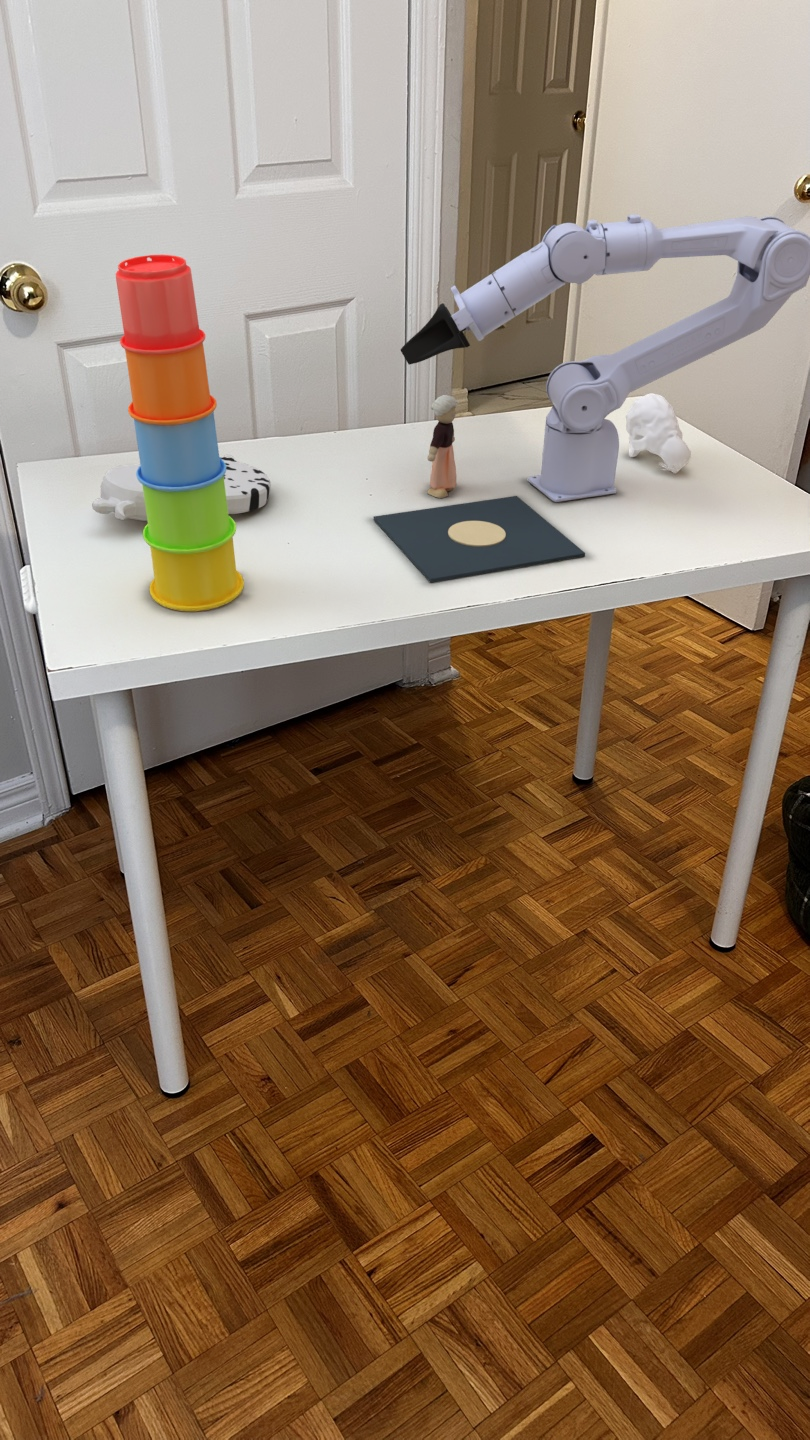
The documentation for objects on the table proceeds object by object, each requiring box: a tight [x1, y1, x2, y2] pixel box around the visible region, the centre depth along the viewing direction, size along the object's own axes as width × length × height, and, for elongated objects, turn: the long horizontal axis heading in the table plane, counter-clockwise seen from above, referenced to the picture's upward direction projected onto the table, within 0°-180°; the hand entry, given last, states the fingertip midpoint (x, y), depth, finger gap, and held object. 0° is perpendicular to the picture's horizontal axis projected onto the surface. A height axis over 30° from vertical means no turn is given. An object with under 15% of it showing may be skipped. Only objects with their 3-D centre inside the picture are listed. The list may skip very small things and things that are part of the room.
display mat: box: [373, 495, 586, 583], centre depth 137 cm, size 20×18×1 cm
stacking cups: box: [115, 254, 245, 612], centre depth 114 cm, size 10×10×35 cm
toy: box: [91, 454, 272, 522], centre depth 142 cm, size 22×5×20 cm
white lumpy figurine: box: [625, 392, 692, 474], centre depth 157 cm, size 6×8×12 cm
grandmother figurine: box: [427, 394, 458, 499], centre depth 146 cm, size 8×4×13 cm, turn 168°
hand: (407, 356), depth 139 cm, fingers open, 7 cm apart
